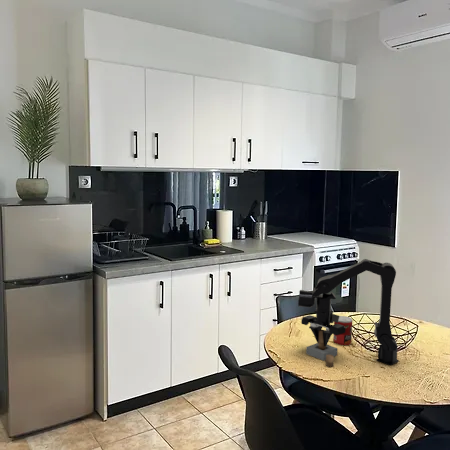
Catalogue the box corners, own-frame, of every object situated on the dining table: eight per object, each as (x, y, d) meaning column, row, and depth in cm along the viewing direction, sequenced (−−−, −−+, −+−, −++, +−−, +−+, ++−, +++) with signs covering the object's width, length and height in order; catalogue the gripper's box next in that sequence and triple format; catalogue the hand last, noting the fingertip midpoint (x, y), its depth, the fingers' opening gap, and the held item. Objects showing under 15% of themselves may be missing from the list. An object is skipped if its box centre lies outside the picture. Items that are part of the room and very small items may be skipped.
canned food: (347, 347, 205) (348, 322, 204) (330, 342, 210) (331, 318, 209) (354, 342, 211) (355, 318, 210) (337, 337, 216) (338, 314, 215)
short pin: (335, 366, 185) (335, 356, 185) (330, 368, 183) (330, 358, 183) (328, 363, 188) (329, 353, 187) (324, 365, 186) (324, 355, 185)
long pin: (326, 352, 196) (327, 331, 195) (322, 353, 194) (323, 332, 193) (321, 349, 198) (321, 329, 197) (316, 351, 196) (317, 330, 195)
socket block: (337, 355, 196) (337, 348, 196) (323, 360, 190) (323, 353, 190) (319, 348, 203) (320, 342, 202) (306, 353, 197) (306, 346, 197)
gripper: (354, 309, 192) (352, 346, 194) (317, 299, 206) (316, 334, 208) (337, 315, 185) (336, 353, 187) (301, 304, 199) (299, 340, 201)
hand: (322, 344), depth 196 cm, fingers closed on long pin, 3 cm apart
